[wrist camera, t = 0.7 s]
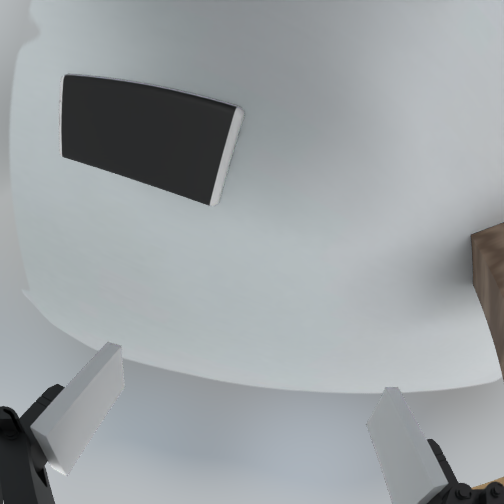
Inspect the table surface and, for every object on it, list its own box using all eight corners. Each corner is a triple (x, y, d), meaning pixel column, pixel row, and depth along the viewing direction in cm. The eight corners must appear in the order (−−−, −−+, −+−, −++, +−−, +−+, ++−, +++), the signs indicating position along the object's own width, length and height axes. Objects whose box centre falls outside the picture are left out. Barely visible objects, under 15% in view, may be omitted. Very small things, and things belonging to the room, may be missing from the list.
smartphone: (220, 203, 37) (215, 210, 36) (65, 152, 37) (58, 157, 35) (248, 107, 29) (244, 110, 27) (67, 72, 28) (59, 75, 27)
